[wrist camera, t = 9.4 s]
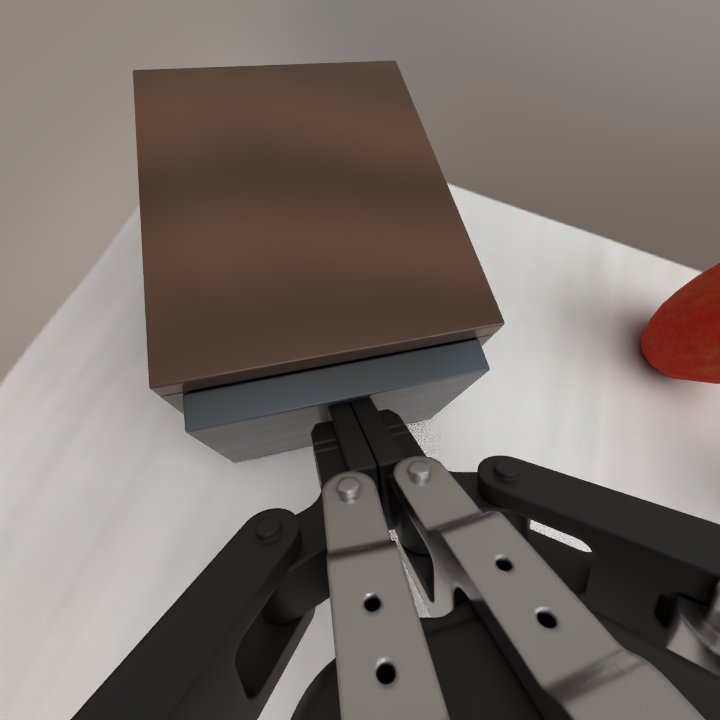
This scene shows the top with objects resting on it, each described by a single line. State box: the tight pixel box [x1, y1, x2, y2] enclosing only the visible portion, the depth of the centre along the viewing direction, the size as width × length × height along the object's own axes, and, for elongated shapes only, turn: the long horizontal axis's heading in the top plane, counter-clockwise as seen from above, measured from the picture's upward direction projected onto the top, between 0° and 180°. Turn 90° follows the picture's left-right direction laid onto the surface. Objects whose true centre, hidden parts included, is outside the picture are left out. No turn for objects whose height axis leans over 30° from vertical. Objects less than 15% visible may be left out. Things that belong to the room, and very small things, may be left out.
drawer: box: [183, 339, 490, 463], centre depth 17 cm, size 14×10×7 cm
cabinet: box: [133, 61, 504, 414], centre depth 18 cm, size 14×11×9 cm
